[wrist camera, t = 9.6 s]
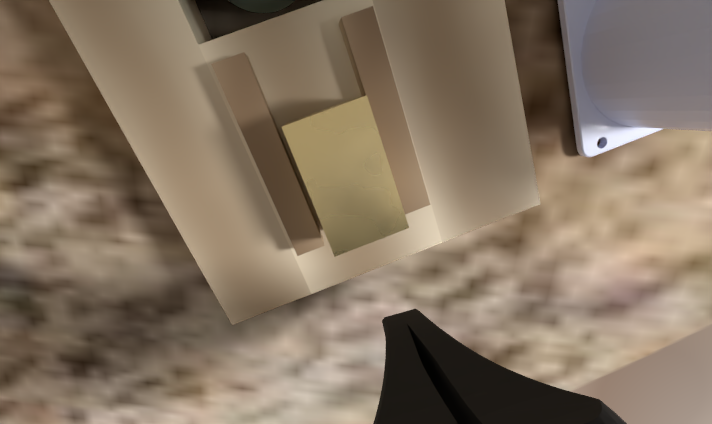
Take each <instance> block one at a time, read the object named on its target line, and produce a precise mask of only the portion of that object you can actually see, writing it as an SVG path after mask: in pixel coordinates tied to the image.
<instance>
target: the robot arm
mask: <svg viewBox="0 0 712 424" xmlns="http://www.w3.org/2000/svg"><path fill="white" fill-rule="evenodd" d="M558 7H559V15H560V23H561V30H562V38H563V46H564V53H565V61H566V69H567V76H568V84H569V91H570V99H571V107H572V114H573V122H574V130H575V137H576V145H577V151H578V153H579V154H580V155H581V156H585V157H593V156H595V155H598V154H601V153H603V152H606V151H608V150H611V149H613V148H616V147H619V146H621V145H624V144H626V143H629V142H631V141H634V140H636V139H639V138H642V137H644V136H647V135H649V134H652V133H654V132H657V131H660V130H662V129H681V130H701V131H712V0H558ZM599 139H600V144H599V145H598V146H597V142H598V140H599ZM382 323H383V327H384V332H385V336H386V360H385V371H384V379H383V386H382V391H381V396H380V401H379V405H378V409H377V413H376V417H375V420H374V424H626V423H625V422H624V421H623V420H622V419H621V418H620V417H619V416H618V415H617V414H616V413H615V412H614V411H612V410H611V409H610V408H609V407H607V406H606V405H605V404H604V403H603V402H602V401H600V400H599V399H596V398H592V397H588V396H585V395H580V394H577V393H573V392H570V391H566V390H562V389H559V388H556V387H553V386H550V385H547V384H544V383H541V382H538V381H536V380H533V379H530V378H528V377H525V376H523V375H520V374H518V373H516V372H513V371H511V370H508V369H506V368H504V367H502V366H500V365H498V364H496V363H494V362H492V361H490V360H488V359H486V358H484V357H483V356H481V355H479V354H477V353H476V352H474V351H472V350H471V349H469V348H468V347H466V346H464V345H463V344H461V343H460V342H458V341H457V340H455V339H454V338H453V337H451V336H450V335H448V334H447V333H446V332H444V331H443V330H442V329H440V328H439V327H438V326H436V325H435V324H434V323H433V322H431V321H430V320H429V319H428V318H427V317H425V316H424V315H423V314H422V313H421V312H420V311H418V310H417V309H413V310H410V311H406V312H402V313H399V314H395V315H392V316H388V317H384V319H383V320H382Z"/></svg>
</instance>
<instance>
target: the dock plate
mask: <svg viewBox="0 0 712 424" xmlns="http://www.w3.org/2000/svg"><path fill="white" fill-rule="evenodd" d="M49 2H50V3H51V5H52V7H53V9H54V11H55V12H56V14H57V16H58V18H59V19H60V21H61V23H62V25H63V27H64V28H65V30H66V32H67V34H68V35H69V37H70V39H71V41H72V42H73V44H74V46H75V48H76V50H77V51H78V53H79V55H80V57H81V58H82V60H83V62H84V64H85V66H86V67H87V69H88V71H89V73H90V74H91V76H92V78H93V80H94V81H95V83H96V85H97V87H98V89H99V90H100V92H101V94H102V96H103V97H104V99H105V101H106V103H107V105H108V106H109V108H110V110H111V112H112V113H113V115H114V117H115V119H116V120H117V122H118V124H119V126H120V128H121V129H122V131H123V133H124V135H125V136H126V138H127V140H128V142H129V144H130V145H131V147H132V149H133V151H134V152H135V154H136V156H137V158H138V159H139V161H140V163H141V165H142V167H143V168H144V170H145V172H146V174H147V175H148V177H149V179H150V181H151V183H152V184H153V186H154V188H155V190H156V191H157V193H158V195H159V197H160V198H161V200H162V202H163V204H164V206H165V207H166V209H167V211H168V213H169V214H170V216H171V218H172V220H173V222H174V223H175V225H176V227H177V229H178V230H179V232H180V234H181V236H182V237H183V239H184V241H185V243H186V245H187V246H188V248H189V250H190V252H191V253H192V255H193V257H194V259H195V261H196V262H197V264H198V266H199V268H200V269H201V271H202V273H203V275H204V276H205V278H206V280H207V282H208V284H209V285H210V287H211V289H212V291H213V292H214V294H215V296H216V298H217V300H218V301H219V303H220V305H221V307H222V308H223V310H224V312H225V314H226V315H227V317H228V319H229V321H230V323H231V324H232V325H234V324H237V323H239V322H242V321H244V320H247V319H249V318H252V317H254V316H257V315H259V314H262V313H265V312H267V311H270V310H272V309H275V308H277V307H280V306H282V305H285V304H287V303H290V302H293V301H295V300H298V299H300V298H303V297H305V296H308V295H310V294H313V293H315V292H318V291H320V290H323V289H326V288H328V287H331V286H333V285H336V284H338V283H341V282H343V281H346V280H348V279H351V278H354V277H356V276H359V275H361V274H364V273H366V272H369V271H371V270H374V269H376V268H379V267H382V266H384V265H387V264H389V263H392V262H394V261H397V260H399V259H402V258H404V257H407V256H410V255H412V254H415V253H417V252H420V251H422V250H425V249H427V248H430V247H432V246H435V245H437V244H440V243H443V242H445V241H448V240H450V239H453V238H455V237H458V236H460V235H463V234H465V233H468V232H471V231H473V230H476V229H478V228H481V227H483V226H486V225H488V224H491V223H493V222H496V221H499V220H501V219H504V218H506V217H509V216H511V215H514V214H516V213H519V212H521V211H524V210H526V209H529V208H532V207H534V206H537V205H539V204H540V199H539V193H538V187H537V182H536V176H535V170H534V165H533V159H532V153H531V148H530V142H529V136H528V130H527V125H526V119H525V113H524V108H523V102H522V96H521V91H520V85H519V79H518V74H517V68H516V62H515V57H514V51H513V45H512V40H511V34H510V28H509V23H508V17H507V11H506V6H505V0H323V1H320V2H317V3H314V4H311V5H309V6H306V7H303V8H300V9H297V10H295V11H292V12H289V13H286V14H283V15H281V16H278V17H275V18H272V19H269V20H266V21H264V22H261V23H258V24H255V25H252V26H250V27H247V28H244V29H241V30H238V31H236V32H233V33H230V34H227V35H224V36H221V37H219V38H216V39H213V40H212V38H211V36H210V34H209V31H208V29H207V27H206V25H205V22H204V20H203V18H202V15H201V13H200V11H199V9H198V6H197V4H196V2H195V0H49ZM366 95H367V97H368V100H369V103H370V106H371V110H372V113H373V116H374V119H375V122H376V125H377V128H378V132H379V135H380V138H381V141H382V144H383V147H384V150H385V153H386V157H387V160H388V163H389V166H390V169H391V172H392V175H393V179H394V182H395V185H396V188H397V191H398V194H399V197H400V200H401V204H402V207H403V210H404V213H405V216H406V219H407V222H408V226H409V228H408V229H405V230H402V231H400V232H397V233H395V234H392V235H390V236H387V237H384V238H382V239H379V240H377V241H374V242H372V243H369V244H367V245H364V246H361V247H359V248H356V249H354V250H351V251H349V252H346V253H343V254H341V255H338V256H336V257H334V254H333V252H332V249H331V247H330V244H329V242H328V239H327V237H326V235H325V232H324V230H323V227H322V225H321V222H320V220H319V218H318V215H317V213H316V210H315V208H314V205H313V203H312V200H311V198H310V196H309V193H308V191H307V188H306V186H305V183H304V181H303V179H302V176H301V174H300V171H299V169H298V166H297V164H296V161H295V159H294V157H293V154H292V152H291V149H290V147H289V144H288V142H287V140H286V137H285V135H284V132H283V130H282V126H283V125H284V124H286V123H288V122H291V121H294V120H296V119H299V118H302V117H304V116H307V115H310V114H312V113H315V112H318V111H321V110H323V109H326V108H329V107H331V106H334V105H337V104H340V103H342V102H345V101H348V100H350V99H353V98H357V97H361V96H366Z"/></svg>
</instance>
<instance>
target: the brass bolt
mask: <svg viewBox="0 0 712 424" xmlns="http://www.w3.org/2000/svg"><path fill="white" fill-rule="evenodd" d="M282 130H283V132H284V135H285V137H286V140H287V142H288V144H289V147H290V149H291V152H292V154H293V157H294V159H295V161H296V164H297V166H298V169H299V171H300V174H301V176H302V179H303V181H304V183H305V186H306V188H307V191H308V193H309V196H310V198H311V200H312V203H313V205H314V208H315V210H316V213H317V215H318V218H319V220H320V222H321V225H322V227H323V230H324V232H325V235H326V237H327V239H328V242H329V244H330V247H331V249H332V252H333V254H334V257H336V256H338V255H341V254H343V253H346V252H349V251H351V250H354V249H356V248H359V247H361V246H364V245H367V244H369V243H372V242H374V241H377V240H379V239H382V238H384V237H387V236H390V235H392V234H395V233H397V232H400V231H402V230H405V229H408V228H409V226H408V222H407V219H406V216H405V213H404V210H403V207H402V204H401V200H400V197H399V194H398V191H397V188H396V185H395V182H394V179H393V175H392V172H391V169H390V166H389V163H388V160H387V157H386V153H385V150H384V147H383V144H382V141H381V138H380V135H379V132H378V128H377V125H376V122H375V119H374V116H373V113H372V110H371V106H370V103H369V100H368V97H367V95H366V96H361V97H357V98H353V99H350V100H348V101H345V102H342V103H340V104H337V105H334V106H331V107H329V108H326V109H323V110H321V111H318V112H315V113H312V114H310V115H307V116H304V117H302V118H299V119H296V120H294V121H291V122H288V123H286V124H284V125H283V126H282Z"/></svg>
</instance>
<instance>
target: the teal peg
mask: <svg viewBox="0 0 712 424" xmlns="http://www.w3.org/2000/svg"><path fill="white" fill-rule="evenodd" d="M228 1H230V2H231V3H233V4H234V5H236V6H238V7H240V8H242V9H244V10H247V11H251V12H255V13H271V12H275V11H279V10H281V9H284V8H285V7H287V6H289V5H290V4H291V3H293V2H294V1H295V0H228Z"/></svg>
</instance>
